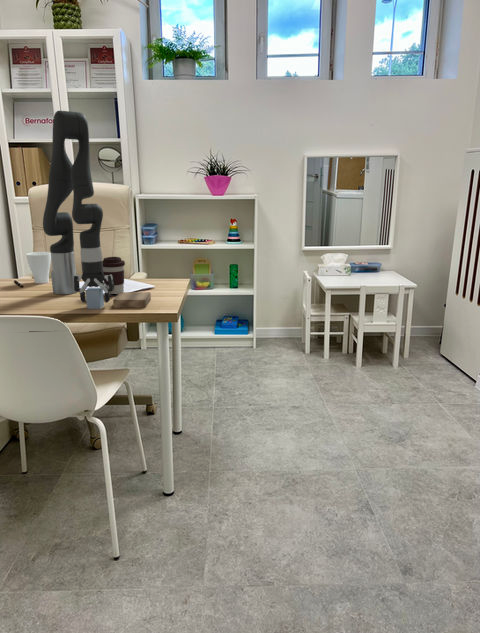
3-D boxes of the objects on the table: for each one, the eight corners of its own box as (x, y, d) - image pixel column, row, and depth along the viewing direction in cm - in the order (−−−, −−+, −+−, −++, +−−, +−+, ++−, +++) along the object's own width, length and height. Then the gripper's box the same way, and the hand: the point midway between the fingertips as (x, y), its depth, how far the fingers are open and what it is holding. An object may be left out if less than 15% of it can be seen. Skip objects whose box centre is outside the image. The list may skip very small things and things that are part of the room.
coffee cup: (105, 297, 196) (102, 260, 192) (100, 292, 204) (97, 257, 200) (129, 294, 200) (127, 258, 196) (123, 289, 209) (121, 255, 205)
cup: (45, 279, 230) (42, 251, 226) (58, 281, 224) (55, 253, 220) (25, 282, 222) (21, 253, 218) (38, 285, 216) (34, 256, 212)
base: (113, 307, 180) (113, 299, 180) (120, 299, 192) (120, 292, 191) (145, 307, 181) (145, 299, 180) (150, 299, 192) (150, 292, 191)
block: (87, 308, 179) (85, 290, 177) (91, 305, 184) (89, 287, 182) (100, 308, 179) (99, 290, 177) (104, 305, 184) (102, 287, 182)
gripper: (68, 261, 172) (73, 305, 177) (108, 261, 173) (112, 304, 177) (75, 258, 180) (79, 300, 184) (113, 257, 180) (116, 299, 184)
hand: (95, 302), depth 181 cm, fingers open, 8 cm apart
